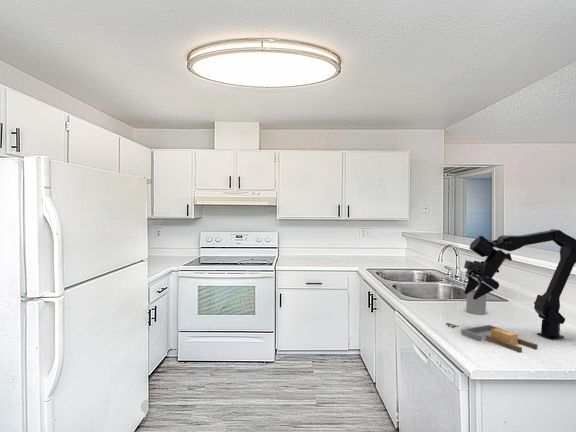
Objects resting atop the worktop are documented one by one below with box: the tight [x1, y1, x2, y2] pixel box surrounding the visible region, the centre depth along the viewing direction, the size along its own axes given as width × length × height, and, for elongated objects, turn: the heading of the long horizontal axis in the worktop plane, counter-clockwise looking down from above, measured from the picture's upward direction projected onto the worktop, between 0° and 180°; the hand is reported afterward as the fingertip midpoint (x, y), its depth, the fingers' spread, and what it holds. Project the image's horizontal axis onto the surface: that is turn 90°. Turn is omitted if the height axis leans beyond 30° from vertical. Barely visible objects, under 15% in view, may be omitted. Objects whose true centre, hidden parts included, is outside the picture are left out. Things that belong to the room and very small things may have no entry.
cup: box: [465, 289, 487, 316], centre depth 195 cm, size 8×8×10 cm
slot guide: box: [484, 335, 538, 353], centre depth 151 cm, size 9×14×2 cm
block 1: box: [490, 327, 507, 340], centre depth 155 cm, size 4×4×4 cm
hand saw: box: [445, 322, 460, 329], centre depth 181 cm, size 24×5×1 cm, turn 30°
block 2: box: [500, 330, 519, 346], centre depth 152 cm, size 4×4×4 cm
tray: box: [460, 324, 508, 342], centre depth 161 cm, size 16×9×2 cm, turn 114°
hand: (469, 296), depth 162 cm, fingers open, 9 cm apart
